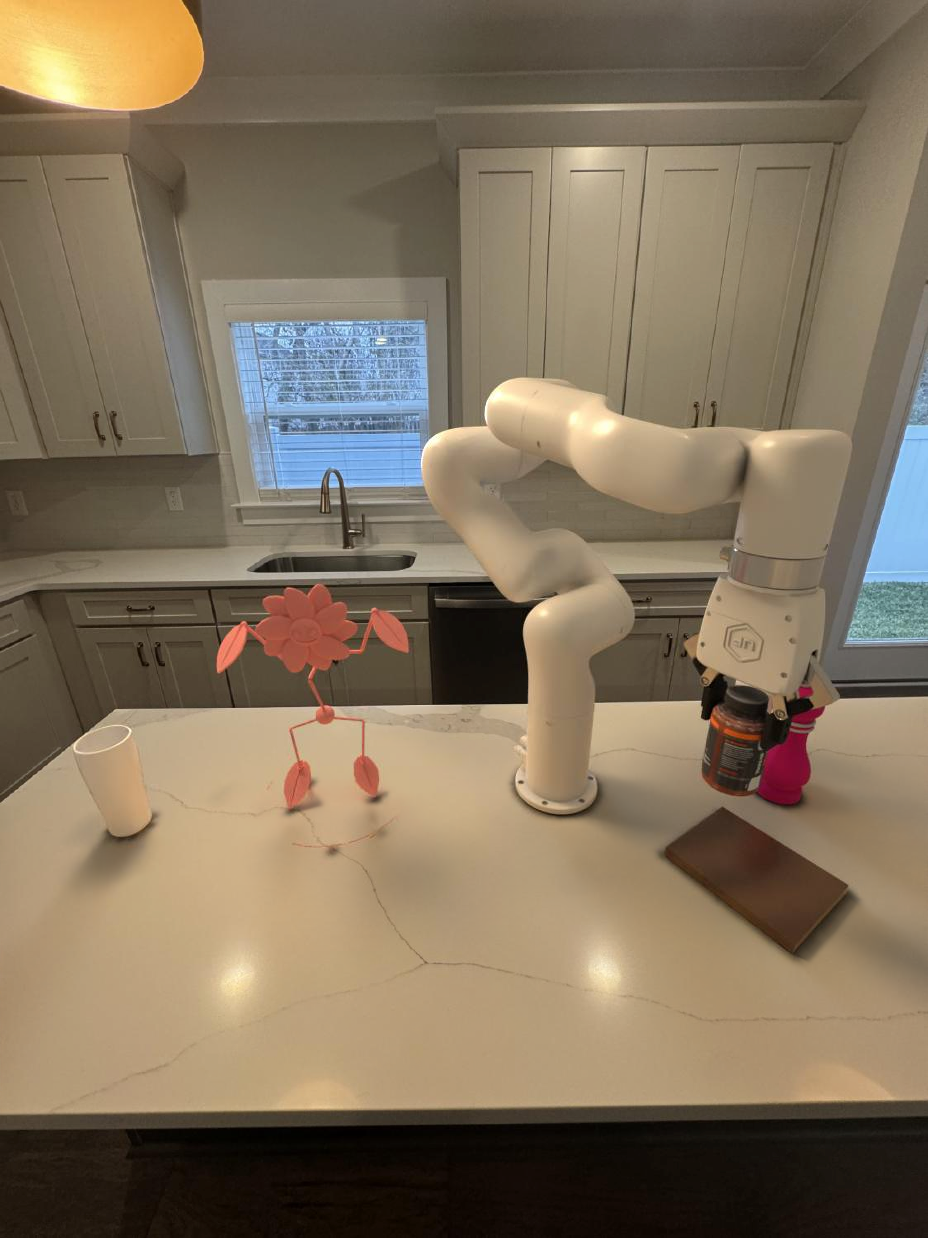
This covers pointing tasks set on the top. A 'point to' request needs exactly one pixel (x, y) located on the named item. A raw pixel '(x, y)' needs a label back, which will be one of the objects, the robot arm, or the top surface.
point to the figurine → (313, 662)
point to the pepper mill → (790, 759)
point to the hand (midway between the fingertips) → (740, 728)
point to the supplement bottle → (736, 742)
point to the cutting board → (758, 876)
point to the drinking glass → (114, 778)
